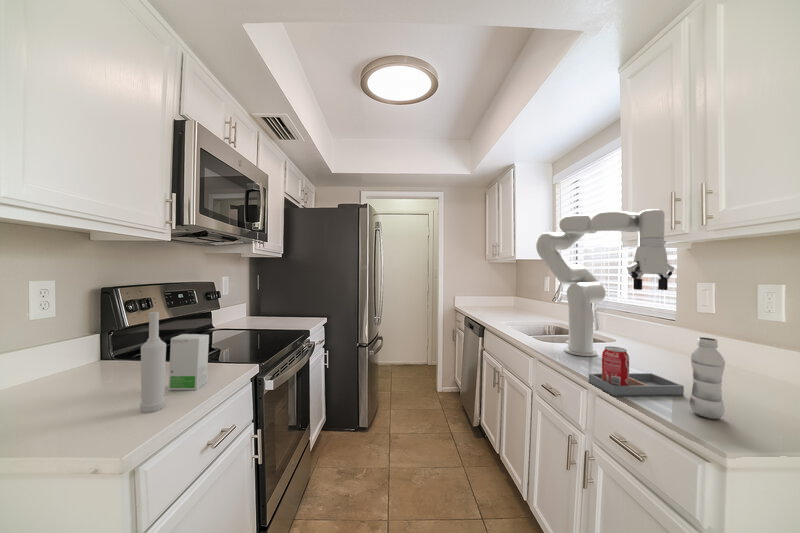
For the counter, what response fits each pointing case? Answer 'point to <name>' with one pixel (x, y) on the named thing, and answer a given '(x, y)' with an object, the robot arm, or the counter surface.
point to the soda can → (615, 366)
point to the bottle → (153, 368)
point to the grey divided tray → (639, 386)
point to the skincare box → (188, 362)
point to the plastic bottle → (707, 379)
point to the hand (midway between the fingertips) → (650, 289)
